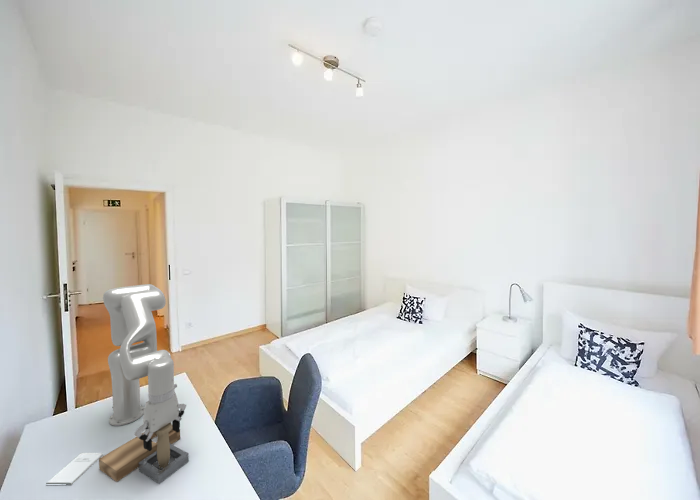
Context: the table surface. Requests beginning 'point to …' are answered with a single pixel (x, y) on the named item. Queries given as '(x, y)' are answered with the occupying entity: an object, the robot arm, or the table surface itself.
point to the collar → (160, 476)
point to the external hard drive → (75, 468)
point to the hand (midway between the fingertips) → (162, 439)
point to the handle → (163, 445)
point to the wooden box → (129, 456)
